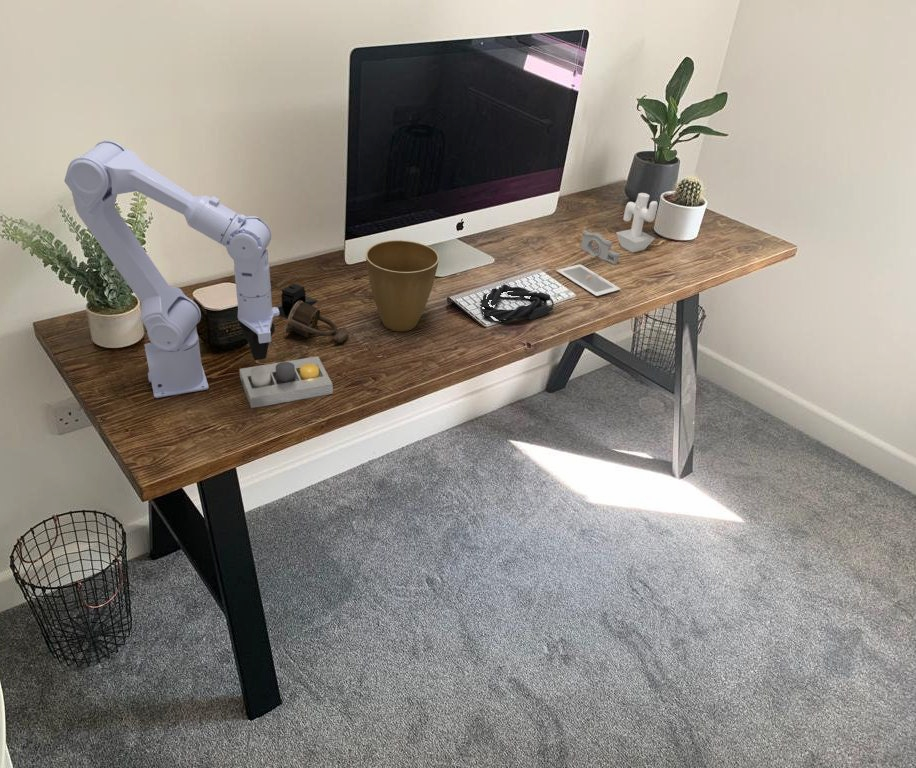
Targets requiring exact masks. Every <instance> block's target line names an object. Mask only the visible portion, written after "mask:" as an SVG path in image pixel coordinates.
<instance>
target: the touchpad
mask: <svg viewBox="0 0 916 768" xmlns="http://www.w3.org/2000/svg"><path fill="white" fill-rule="evenodd" d="M555 271H556V272H558V273H559V274H561V275H563V276H564V277H566V278H567V279H569V280H570V281H572V282H573V283H575V284H576V285H578V286H580V287H581V288H583V289H585V290H586V291H588V292H589V293H590V294H593V295H594V296H596V297H598V296H602V295H605V294H608V293H609V294H610V293H613V292H616V291H620V290H621V288H620V287H619V286H618V285H616V284H613V283H612V282H610V281H609V280H607V279H605V278H604V277H602V276H601V275H599V274H597V272H594V271H592V270H591V269H589V268H587V267H586V266H584V265H582V264H580V263H579V264H575V265H572V266H571V265H570V266H568V267H564V268H559V269H556V270H555Z"/></svg>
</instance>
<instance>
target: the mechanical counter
mask: <svg viewBox="0 0 916 768" xmlns="http://www.w3.org/2000/svg"><path fill="white" fill-rule="evenodd" d="M320 314H321V309H320V308H318V307H315V306H313V305H312V306H311V305H309V304H307V303H305V302H303V301H298V302H296V303H295V304H294V306H293V307H292V309H291V310H290V313H289V315H288V318H287V322H286V325H285V329H284V332H283V333H284V334H288V333H289V332H291V331H292V332H295V334H298V335H301V336H303V337H305V338H308V337H310V335H311V334H314V335H318V336H320V337H321V336H322V337H333V340H334V341H335V342H336V343H343V342H344V341H346V340H347V338H348V336H349V333H348V330H347V329H346V328H344V327H341V328H340V329H339V330H338V327H337V325H336V324H335V322H333V321H331V320H330V319H328V318H327V317H324V316H322V315H320ZM319 321H320V322H322V323H325V324H326V325H328V326H329V327H330V328H332V330H331V331H323V330H319V329H316V326H317V324H318V322H319Z"/></svg>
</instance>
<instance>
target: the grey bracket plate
mask: <svg viewBox="0 0 916 768" xmlns="http://www.w3.org/2000/svg"><path fill="white" fill-rule="evenodd" d="M581 234H582V239H581V244H580V250H581V249H582V251H583V252H586V253H588V254H589V255H590V256H593V257H596V258H599V259H601V260H603V261H605V262H608V263H610V264H612V265H614V266H615V265H618V262H619V258H620V257H619V256H621V253H618V252H616V251H614V250H613V249H612V248H611V247H612V245H613V242H612V241H610V240H607V239H606V238H605V237H604V236H603V234H601V233H600V232H595V233H594V232H589V231H587V230H585V229H583V230H582V231H581Z"/></svg>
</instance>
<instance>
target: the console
mask: <svg viewBox="0 0 916 768" xmlns="http://www.w3.org/2000/svg"><path fill="white" fill-rule="evenodd" d="M281 362H282V361H281ZM281 362H273V363H268V364H262V365H260V366H266V367H268V368H269V369H270V377H271V385H270V386H265V387H259V388H253V387H252V379H251V370H252V368H254V367H257V366H258V365H256V366H249V367H243V368H239V377H240V378H239V379H240V381H241V386H242V388H243V389H244V392H245V395H246V397H247V400H248V403H249V406H250V408H251V409H254V408H261V407H267V406H273V405H278V404H283V403H288V402H293V401H299V400H300V401H301V400H306V399H311V398H316V397H321V396H323V397H324V396H327V395H333V394H334V393H333V392H334V390H333V389H334V386H333V385H334V384H333V382H332V379H331V378H330V377H329V374H328V372H327V371H326V369H325V366H324V365H323V363H322V361H321V359H320V357H319V356H312V357H311V356H310V357H306V358H305V357H304V358H300V359H293V360H287V361H285V362H290V363H292V364H294V367H295V381H294V382H288V383H282V384H278V383H277V380H276V365H277V364H279V363H281ZM309 363H311V364H315V365H317V366H318V367H319V377H317V378H311V379H305V380H301V377H300V367H301V366H302V365H304V364H309Z"/></svg>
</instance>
